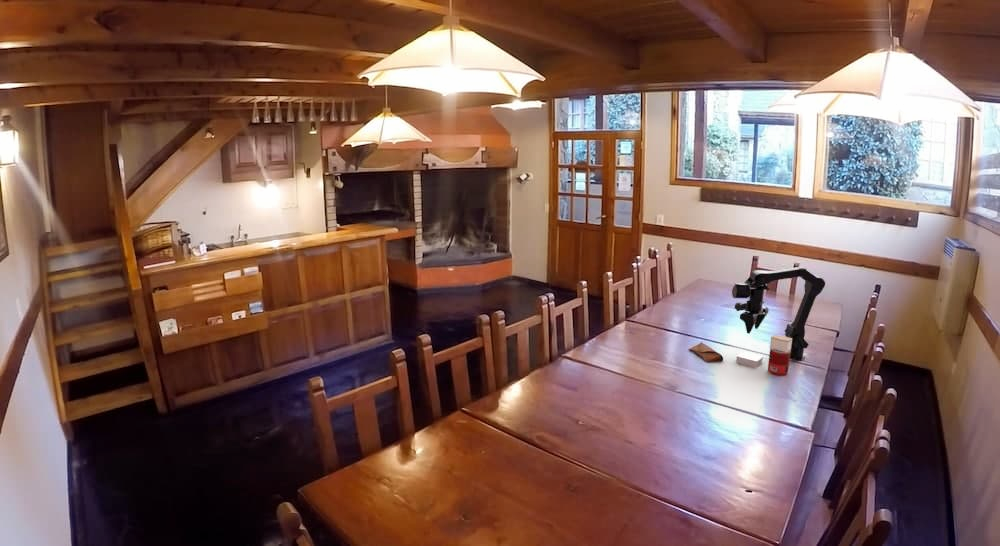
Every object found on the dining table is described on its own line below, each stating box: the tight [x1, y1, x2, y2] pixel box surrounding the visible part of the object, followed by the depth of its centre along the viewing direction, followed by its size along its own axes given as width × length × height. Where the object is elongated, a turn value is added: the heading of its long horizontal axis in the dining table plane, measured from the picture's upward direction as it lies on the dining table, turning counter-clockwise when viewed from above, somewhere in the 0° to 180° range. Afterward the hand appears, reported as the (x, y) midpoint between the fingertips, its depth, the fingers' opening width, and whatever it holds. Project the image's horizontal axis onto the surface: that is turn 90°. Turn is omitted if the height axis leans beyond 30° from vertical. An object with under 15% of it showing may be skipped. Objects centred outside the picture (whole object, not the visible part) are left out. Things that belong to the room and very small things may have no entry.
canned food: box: [767, 347, 791, 377], centre depth 256 cm, size 8×8×11 cm
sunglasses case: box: [687, 341, 724, 364], centre depth 276 cm, size 18×7×7 cm
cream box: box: [769, 334, 792, 352], centre depth 254 cm, size 5×7×5 cm
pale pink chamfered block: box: [735, 351, 764, 369], centre depth 267 cm, size 7×9×3 cm
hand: (752, 331), depth 272 cm, fingers open, 9 cm apart
